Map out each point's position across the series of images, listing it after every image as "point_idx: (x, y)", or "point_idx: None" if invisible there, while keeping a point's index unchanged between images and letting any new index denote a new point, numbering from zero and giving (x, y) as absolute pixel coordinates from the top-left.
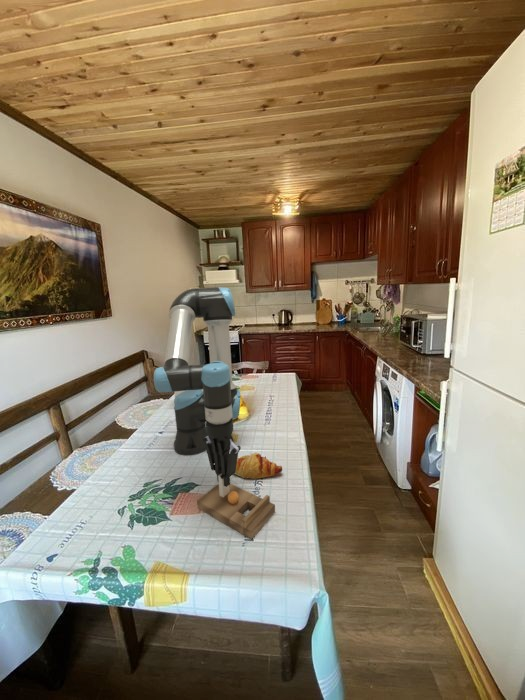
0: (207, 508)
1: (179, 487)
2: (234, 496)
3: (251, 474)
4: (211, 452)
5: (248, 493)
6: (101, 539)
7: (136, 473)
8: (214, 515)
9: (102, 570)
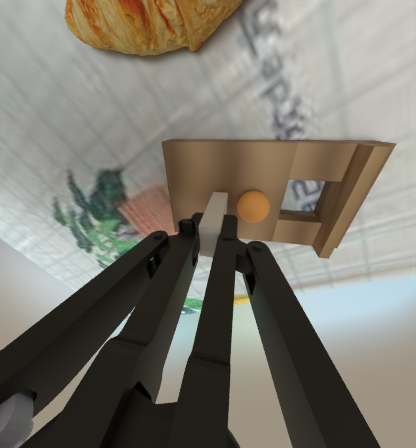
0: None
1: (102, 197)
2: (263, 218)
3: (222, 18)
4: (108, 325)
5: (275, 148)
6: None
7: (16, 208)
8: None
9: None
